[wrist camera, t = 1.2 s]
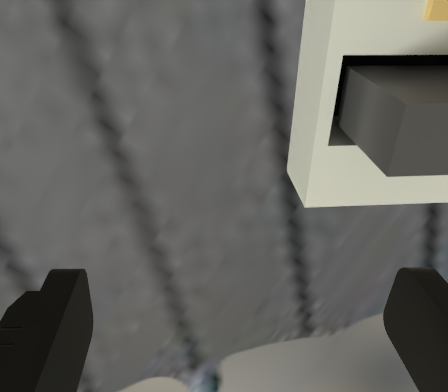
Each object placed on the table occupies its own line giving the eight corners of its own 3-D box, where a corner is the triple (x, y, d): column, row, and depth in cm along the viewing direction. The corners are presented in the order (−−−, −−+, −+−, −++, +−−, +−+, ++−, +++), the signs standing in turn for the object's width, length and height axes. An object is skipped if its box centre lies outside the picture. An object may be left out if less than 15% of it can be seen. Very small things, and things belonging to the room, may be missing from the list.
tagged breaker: (346, 66, 25) (406, 103, 18) (489, 65, 26) (596, 101, 19) (336, 123, 27) (386, 176, 21) (468, 121, 28) (559, 171, 21)
